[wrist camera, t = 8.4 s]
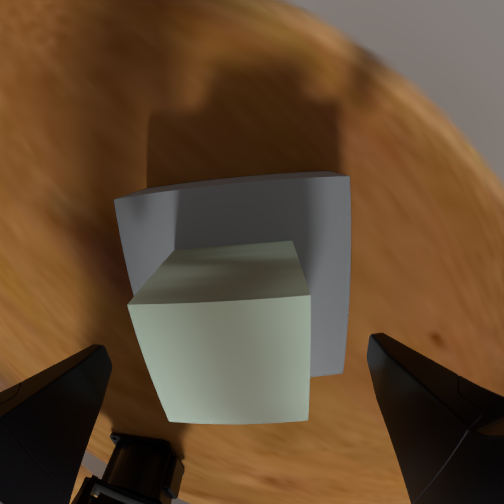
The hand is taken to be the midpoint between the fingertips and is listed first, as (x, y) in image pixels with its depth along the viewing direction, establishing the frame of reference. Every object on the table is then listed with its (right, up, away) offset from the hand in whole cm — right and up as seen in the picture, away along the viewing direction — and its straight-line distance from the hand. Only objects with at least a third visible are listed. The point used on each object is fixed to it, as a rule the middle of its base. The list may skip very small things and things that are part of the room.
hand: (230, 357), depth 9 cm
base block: (0, +2, +8) cm, 8 cm away
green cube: (0, +1, +4) cm, 4 cm away
